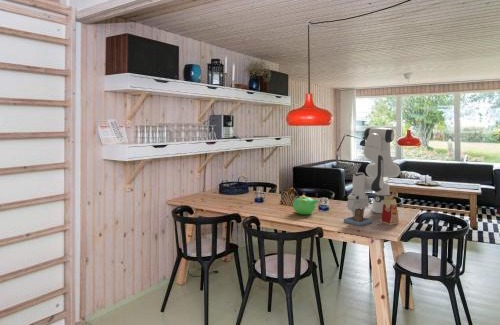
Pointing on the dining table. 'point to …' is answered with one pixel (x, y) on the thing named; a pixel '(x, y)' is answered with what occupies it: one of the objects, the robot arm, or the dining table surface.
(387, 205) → the milk carton
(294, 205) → the green teapot
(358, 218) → the walnut block
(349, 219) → the slate tray
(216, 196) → the dining table surface
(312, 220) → the dining table surface
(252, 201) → the dining table surface
